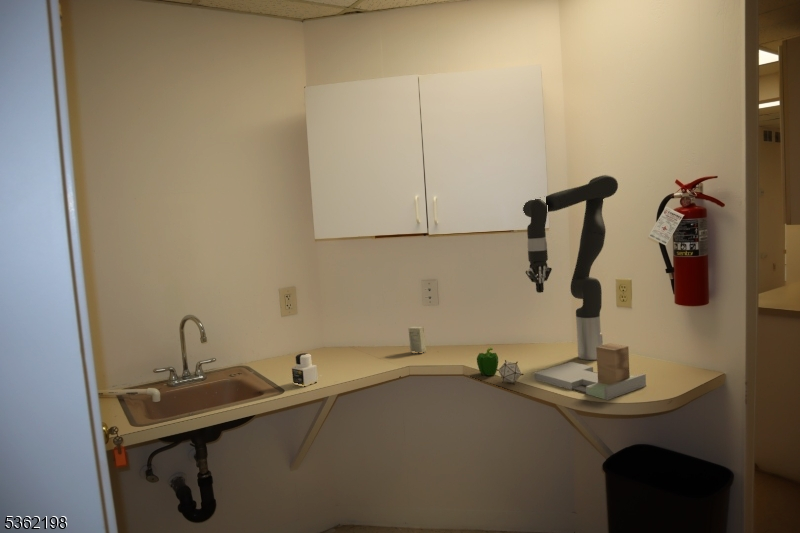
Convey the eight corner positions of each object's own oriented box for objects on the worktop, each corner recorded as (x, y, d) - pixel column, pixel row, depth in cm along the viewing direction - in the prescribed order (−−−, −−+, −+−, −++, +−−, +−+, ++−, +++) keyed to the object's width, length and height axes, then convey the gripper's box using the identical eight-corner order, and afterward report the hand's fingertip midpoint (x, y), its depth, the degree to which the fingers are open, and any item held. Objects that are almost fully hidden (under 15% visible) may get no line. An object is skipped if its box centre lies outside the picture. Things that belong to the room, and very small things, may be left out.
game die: (510, 394, 184) (499, 377, 179) (499, 380, 192) (488, 363, 187) (530, 380, 184) (520, 363, 180) (519, 367, 192) (509, 349, 187)
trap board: (571, 368, 198) (571, 358, 198) (646, 385, 172) (645, 374, 171) (534, 379, 188) (533, 368, 188) (607, 399, 161) (606, 387, 161)
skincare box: (426, 352, 242) (424, 326, 241) (421, 354, 238) (420, 328, 237) (414, 351, 245) (412, 325, 244) (410, 353, 242) (408, 327, 241)
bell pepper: (483, 378, 194) (481, 352, 193) (474, 373, 202) (472, 348, 201) (503, 375, 196) (502, 349, 195) (494, 369, 204) (492, 345, 203)
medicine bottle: (293, 385, 204) (290, 355, 203) (307, 380, 210) (304, 351, 209) (304, 387, 200) (301, 357, 199) (318, 382, 205) (315, 353, 204)
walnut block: (611, 377, 175) (609, 343, 174) (629, 382, 169) (628, 346, 168) (598, 382, 172) (596, 346, 171) (616, 386, 166) (614, 350, 165)
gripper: (532, 251, 199) (535, 295, 200) (556, 247, 206) (558, 290, 207) (518, 251, 205) (521, 293, 207) (542, 248, 212) (544, 289, 213)
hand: (540, 292), depth 207 cm, fingers closed
